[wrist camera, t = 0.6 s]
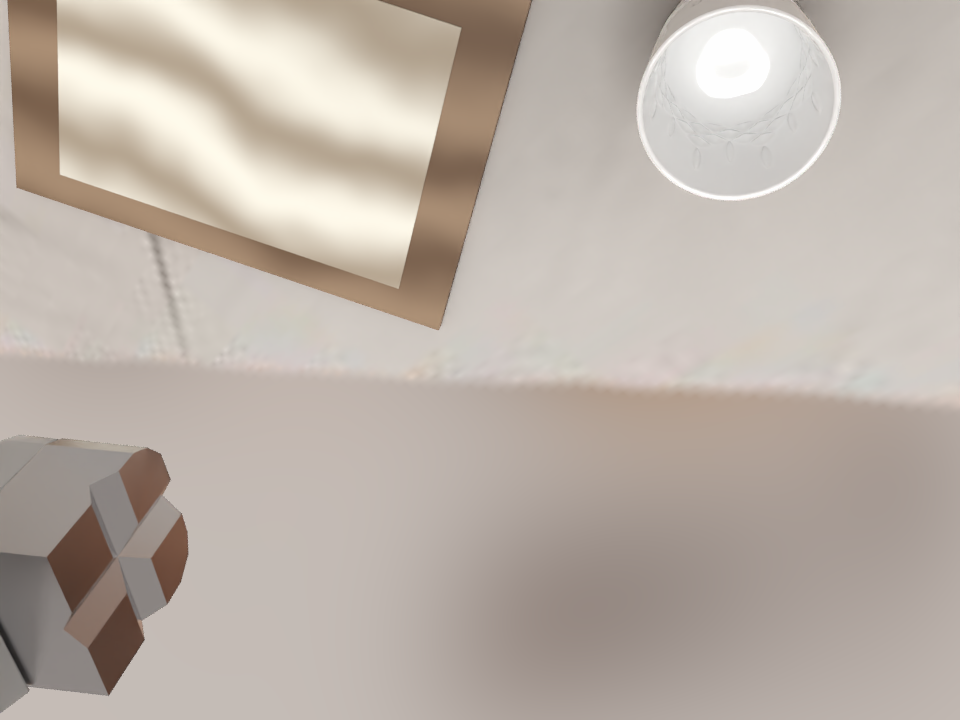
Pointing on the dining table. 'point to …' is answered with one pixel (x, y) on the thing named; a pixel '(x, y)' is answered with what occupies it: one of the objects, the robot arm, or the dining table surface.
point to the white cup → (737, 97)
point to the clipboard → (272, 129)
